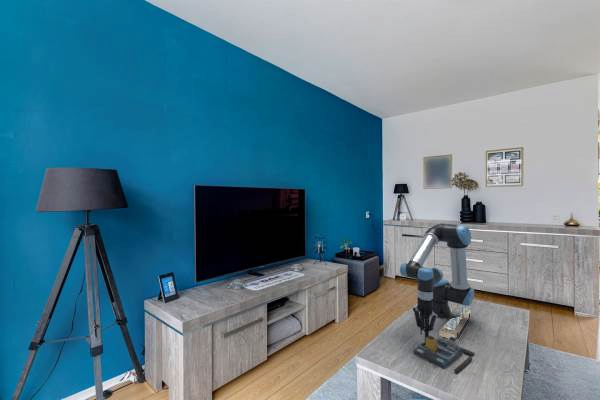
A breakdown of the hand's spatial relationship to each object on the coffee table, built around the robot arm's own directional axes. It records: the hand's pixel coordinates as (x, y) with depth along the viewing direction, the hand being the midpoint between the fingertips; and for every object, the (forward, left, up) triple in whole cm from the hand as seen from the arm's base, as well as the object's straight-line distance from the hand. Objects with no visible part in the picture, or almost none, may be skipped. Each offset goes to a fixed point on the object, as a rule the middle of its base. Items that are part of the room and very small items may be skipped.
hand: (424, 341), depth 148 cm
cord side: (-2, +19, -5) cm, 19 cm away
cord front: (-14, +8, -5) cm, 17 cm away
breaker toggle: (0, +4, -3) cm, 5 cm away
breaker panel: (-2, +6, -5) cm, 8 cm away
